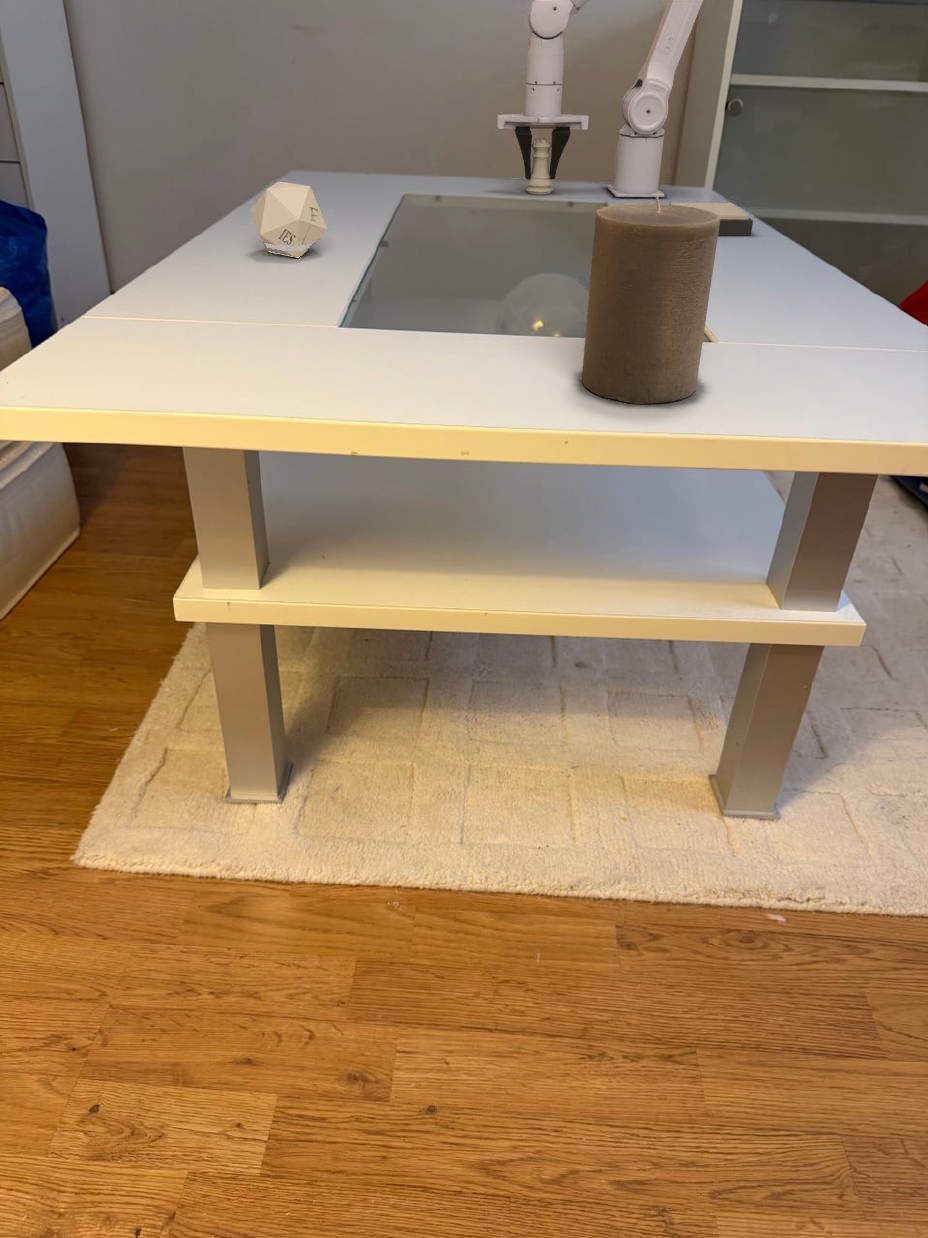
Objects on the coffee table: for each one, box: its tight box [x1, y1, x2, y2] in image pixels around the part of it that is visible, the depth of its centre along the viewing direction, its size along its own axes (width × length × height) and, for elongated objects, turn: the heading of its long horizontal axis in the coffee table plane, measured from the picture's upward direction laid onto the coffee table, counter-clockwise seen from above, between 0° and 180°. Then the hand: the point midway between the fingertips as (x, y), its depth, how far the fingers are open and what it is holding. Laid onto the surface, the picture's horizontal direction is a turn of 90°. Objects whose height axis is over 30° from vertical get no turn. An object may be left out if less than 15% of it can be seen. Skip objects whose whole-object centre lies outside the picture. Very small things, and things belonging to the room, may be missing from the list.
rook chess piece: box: [525, 137, 554, 196], centre depth 156 cm, size 4×4×8 cm
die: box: [249, 181, 329, 258], centre depth 118 cm, size 8×9×10 cm
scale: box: [669, 202, 754, 237], centre depth 135 cm, size 10×10×3 cm
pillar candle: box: [581, 195, 720, 405], centre depth 77 cm, size 10×10×15 cm
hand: (539, 177), depth 157 cm, fingers closed on rook chess piece, 3 cm apart
